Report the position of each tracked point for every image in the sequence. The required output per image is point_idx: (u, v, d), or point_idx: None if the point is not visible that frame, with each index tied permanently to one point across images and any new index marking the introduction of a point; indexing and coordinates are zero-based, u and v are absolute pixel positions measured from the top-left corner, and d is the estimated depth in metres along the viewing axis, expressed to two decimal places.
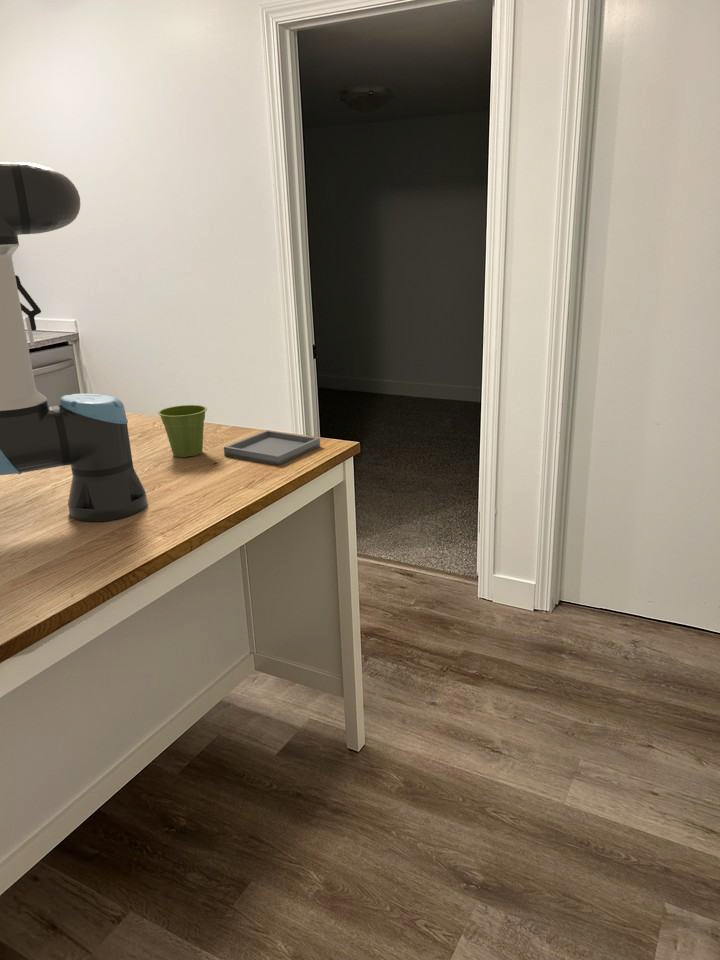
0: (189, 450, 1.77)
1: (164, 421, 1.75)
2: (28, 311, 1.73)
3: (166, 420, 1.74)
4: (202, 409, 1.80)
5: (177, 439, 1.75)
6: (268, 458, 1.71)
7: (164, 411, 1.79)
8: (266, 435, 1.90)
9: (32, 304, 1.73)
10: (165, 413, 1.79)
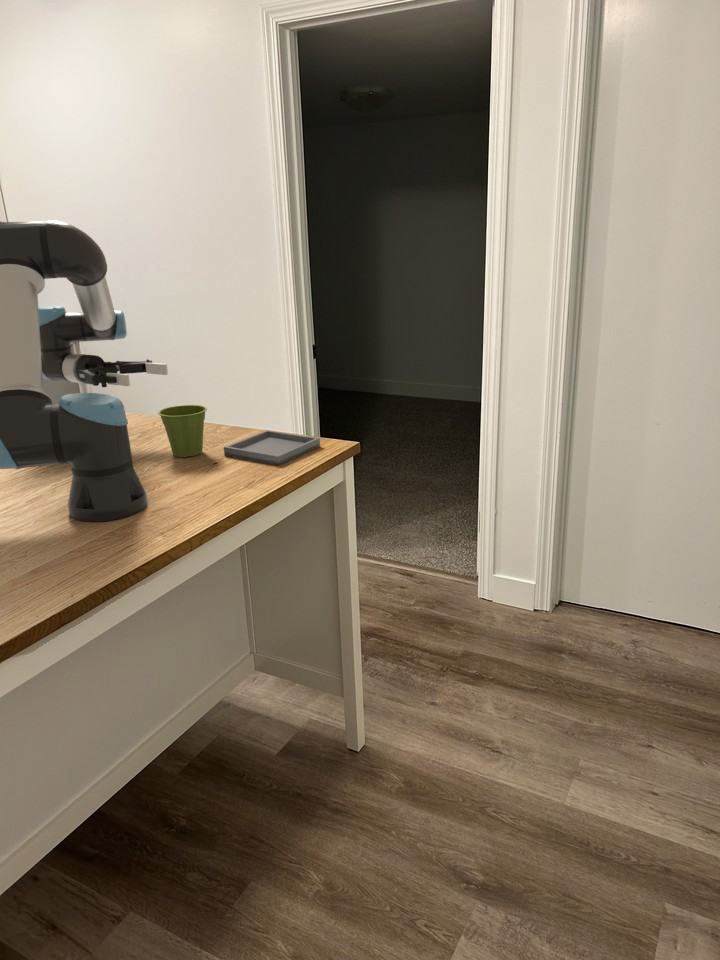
0: (189, 450, 1.77)
1: (164, 421, 1.75)
2: (143, 362, 1.88)
3: (166, 420, 1.74)
4: (202, 409, 1.80)
5: (177, 439, 1.75)
6: (268, 458, 1.71)
7: (164, 411, 1.79)
8: (266, 435, 1.90)
9: (142, 361, 1.90)
10: (165, 413, 1.79)
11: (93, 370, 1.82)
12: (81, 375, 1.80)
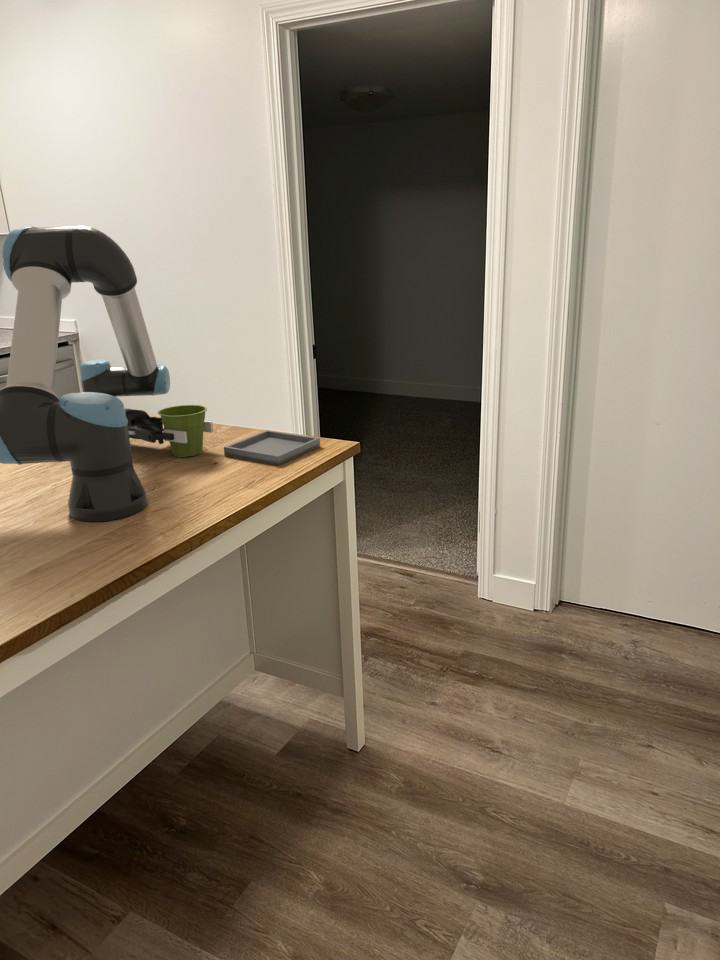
0: (189, 450, 1.77)
1: (164, 421, 1.75)
2: None
3: (166, 420, 1.74)
4: (202, 409, 1.80)
5: None
6: (268, 458, 1.71)
7: (164, 411, 1.79)
8: (266, 435, 1.90)
9: None
10: (165, 413, 1.79)
11: (140, 426, 1.81)
12: (131, 432, 1.78)
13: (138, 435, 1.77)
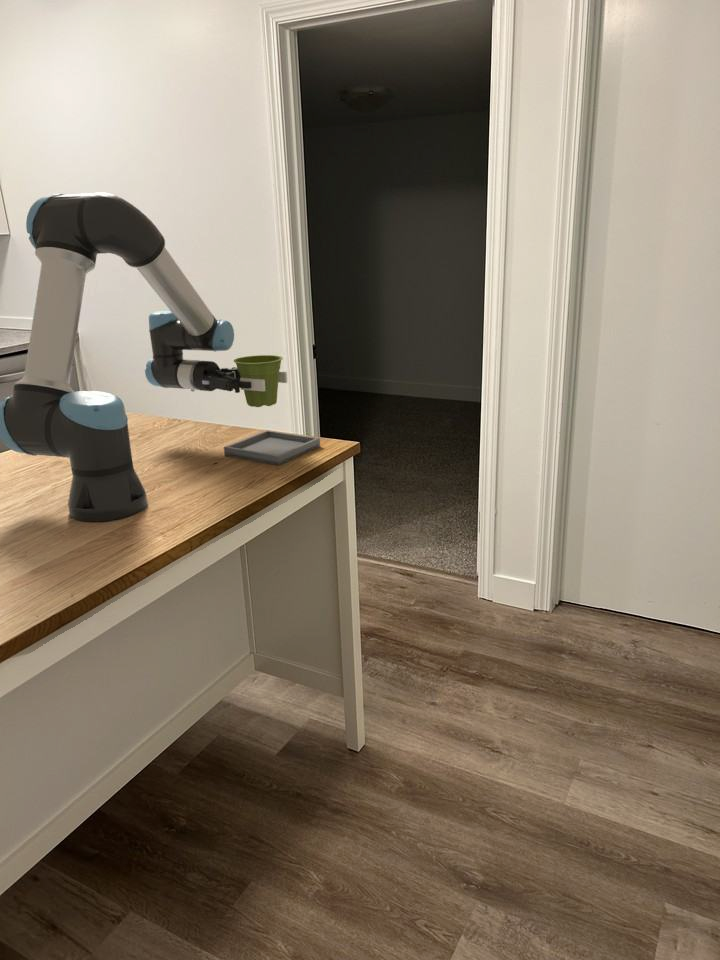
0: (265, 399, 1.74)
1: (241, 369, 1.71)
2: None
3: (243, 368, 1.70)
4: (276, 359, 1.77)
5: None
6: (268, 458, 1.71)
7: (238, 360, 1.76)
8: (266, 435, 1.90)
9: None
10: (239, 362, 1.76)
11: (213, 376, 1.77)
12: (205, 382, 1.75)
13: (213, 384, 1.74)
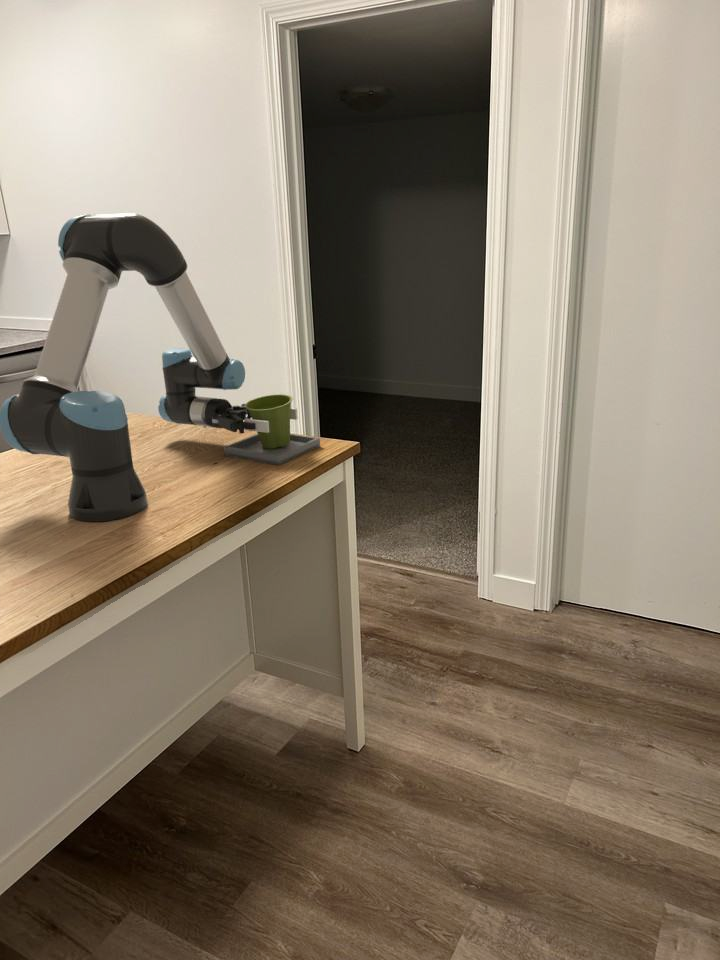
0: (279, 441, 1.78)
1: (253, 415, 1.75)
2: None
3: (255, 414, 1.74)
4: (286, 398, 1.81)
5: None
6: (268, 458, 1.71)
7: (249, 404, 1.80)
8: None
9: None
10: (250, 406, 1.80)
11: (224, 415, 1.80)
12: (214, 420, 1.77)
13: (221, 424, 1.76)
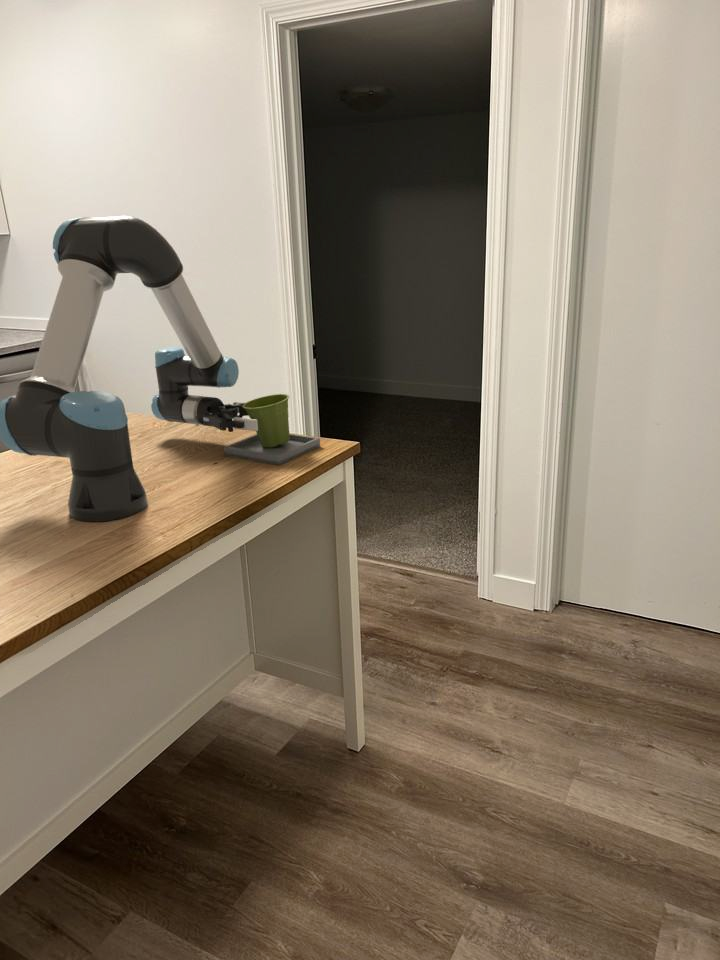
0: (279, 438, 1.79)
1: (251, 414, 1.76)
2: None
3: (254, 412, 1.75)
4: (283, 397, 1.82)
5: (267, 429, 1.77)
6: (268, 458, 1.71)
7: (247, 405, 1.80)
8: None
9: None
10: (248, 407, 1.81)
11: (216, 413, 1.81)
12: (205, 419, 1.79)
13: (211, 422, 1.77)
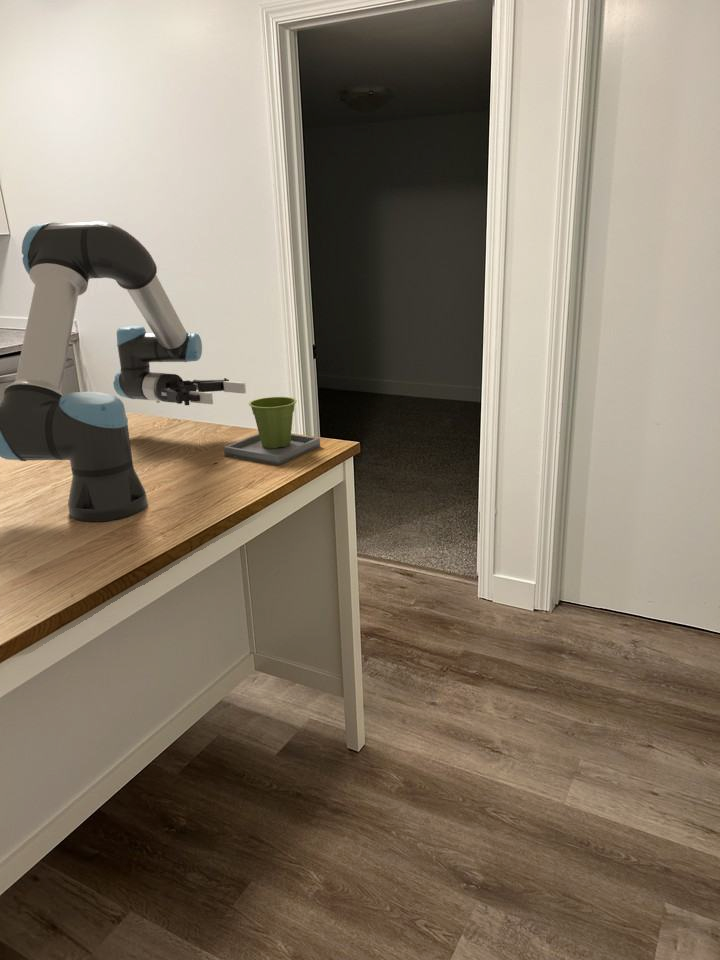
0: (281, 441, 1.79)
1: (258, 413, 1.76)
2: (221, 381, 1.92)
3: (260, 412, 1.75)
4: (289, 400, 1.83)
5: (271, 430, 1.77)
6: (268, 458, 1.71)
7: (252, 403, 1.80)
8: None
9: (219, 380, 1.94)
10: (253, 405, 1.81)
11: (174, 388, 1.86)
12: (163, 393, 1.84)
13: (169, 396, 1.82)
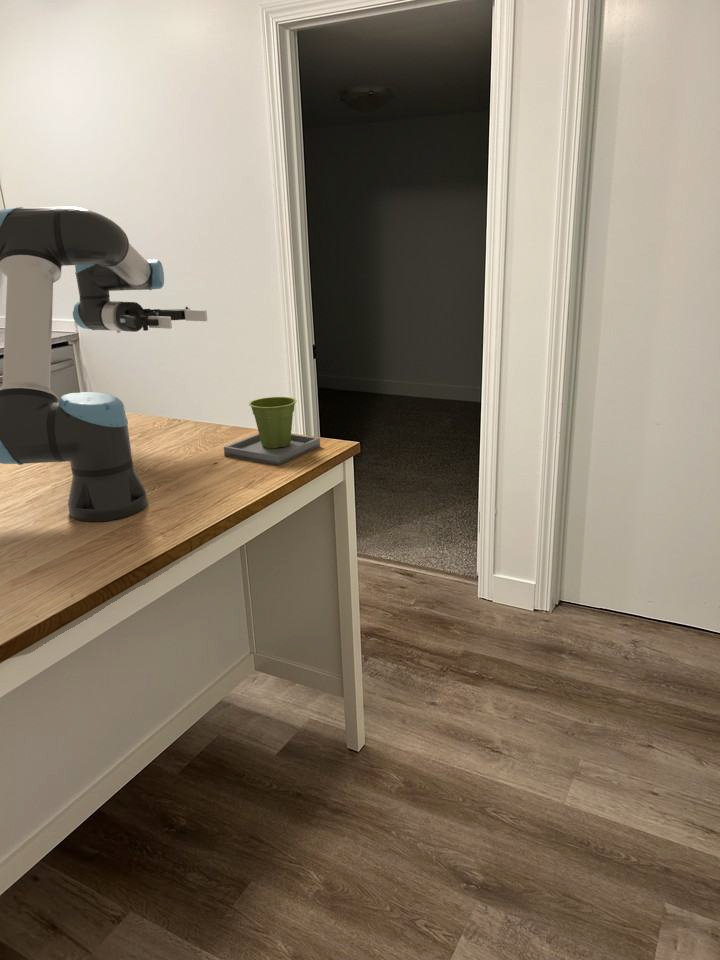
0: (281, 441, 1.79)
1: (258, 413, 1.76)
2: (182, 310, 1.88)
3: (260, 412, 1.75)
4: (289, 400, 1.83)
5: (271, 430, 1.77)
6: (268, 458, 1.71)
7: (252, 403, 1.80)
8: None
9: (180, 309, 1.90)
10: (253, 405, 1.81)
11: (133, 315, 1.82)
12: (122, 320, 1.80)
13: (127, 322, 1.78)
